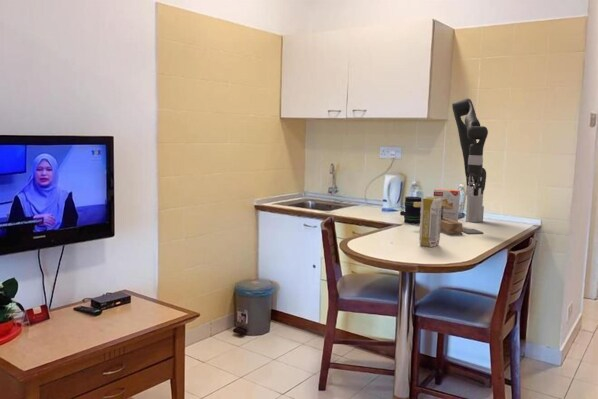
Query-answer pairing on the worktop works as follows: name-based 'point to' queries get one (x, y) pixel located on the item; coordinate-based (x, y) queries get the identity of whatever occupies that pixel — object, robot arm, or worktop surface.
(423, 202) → the juice carton
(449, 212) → the cracker box
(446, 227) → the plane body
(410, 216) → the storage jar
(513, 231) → the worktop surface
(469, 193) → the cap
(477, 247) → the worktop surface
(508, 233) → the worktop surface
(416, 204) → the lever
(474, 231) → the mat
